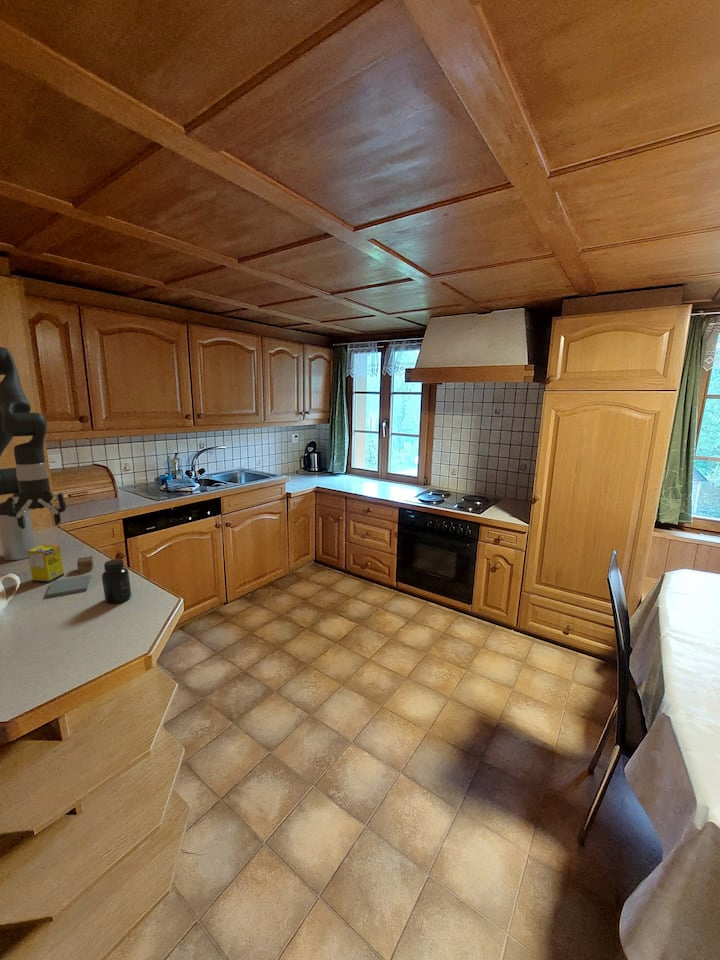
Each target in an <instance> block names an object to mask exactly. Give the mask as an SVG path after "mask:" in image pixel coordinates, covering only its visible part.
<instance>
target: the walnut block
mask: <svg viewBox="0 0 720 960" xmlns="http://www.w3.org/2000/svg"><path fill="white" fill-rule="evenodd" d="M76 564H77V571H78V572H81V573H85V572H84V571H87V572H90V571H89V570H92V569H94V567H93V566H94V559H93V556H92V555H91V556H90V555H89V556H84V557H83V556H82V557H78V558H77V562H76ZM92 571H93V570H92Z"/></svg>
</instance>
